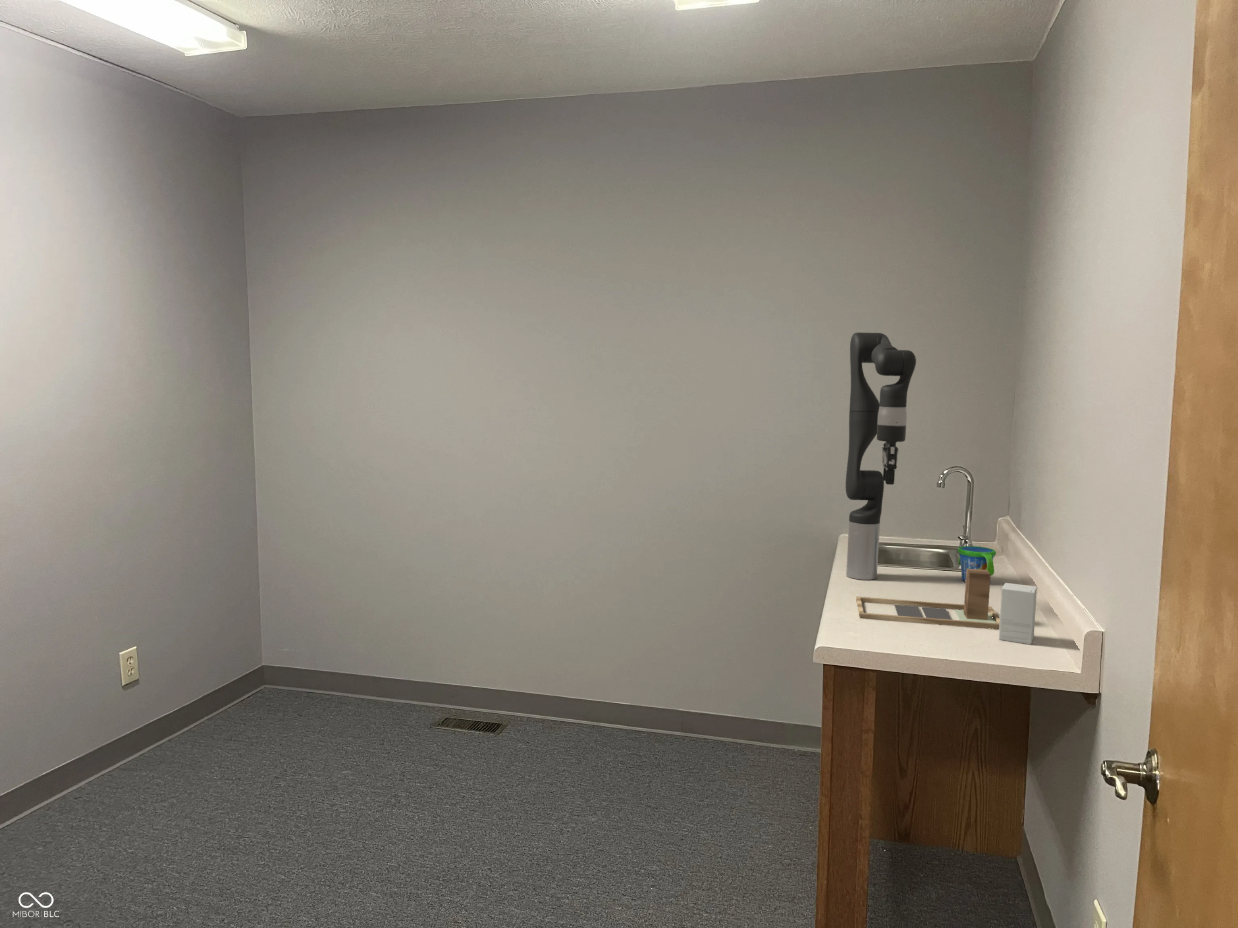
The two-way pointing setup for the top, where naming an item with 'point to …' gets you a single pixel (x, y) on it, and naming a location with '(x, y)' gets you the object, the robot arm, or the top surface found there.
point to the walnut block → (977, 594)
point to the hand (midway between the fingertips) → (888, 482)
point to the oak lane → (920, 619)
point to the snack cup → (976, 559)
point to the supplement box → (1017, 613)
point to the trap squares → (928, 612)
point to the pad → (962, 618)
